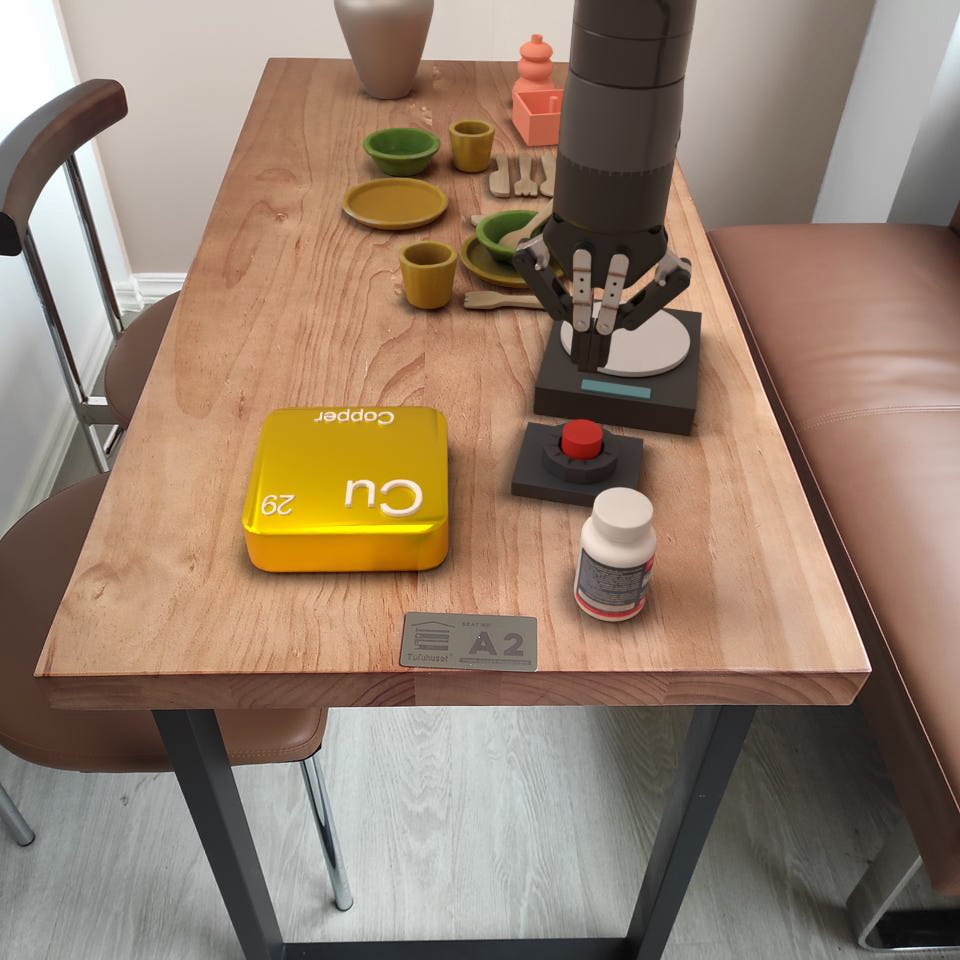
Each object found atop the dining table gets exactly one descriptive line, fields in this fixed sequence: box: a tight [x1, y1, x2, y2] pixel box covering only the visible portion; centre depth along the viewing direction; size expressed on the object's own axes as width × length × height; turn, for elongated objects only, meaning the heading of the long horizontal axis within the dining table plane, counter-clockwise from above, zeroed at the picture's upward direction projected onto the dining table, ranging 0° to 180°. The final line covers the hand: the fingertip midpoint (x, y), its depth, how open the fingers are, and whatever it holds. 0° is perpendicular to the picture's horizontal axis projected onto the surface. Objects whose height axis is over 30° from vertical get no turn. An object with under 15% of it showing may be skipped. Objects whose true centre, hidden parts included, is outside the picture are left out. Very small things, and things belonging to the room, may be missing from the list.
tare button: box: [561, 419, 603, 460], centre depth 75 cm, size 3×3×2 cm
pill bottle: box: [573, 487, 658, 622], centre depth 65 cm, size 5×5×9 cm
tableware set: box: [341, 118, 565, 310], centre depth 108 cm, size 41×28×6 cm
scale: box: [532, 295, 703, 437], centre depth 87 cm, size 14×16×4 cm
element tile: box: [241, 405, 449, 573], centre depth 73 cm, size 15×15×5 cm
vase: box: [333, 0, 435, 100], centre depth 134 cm, size 14×14×25 cm
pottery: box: [511, 33, 564, 147], centre depth 132 cm, size 18×10×10 cm, turn 13°
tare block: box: [510, 421, 645, 508], centre depth 77 cm, size 10×8×3 cm
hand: (588, 366), depth 70 cm, fingers closed
